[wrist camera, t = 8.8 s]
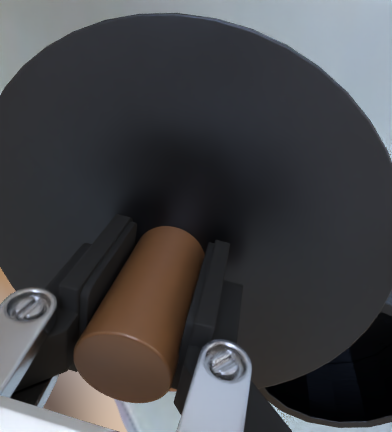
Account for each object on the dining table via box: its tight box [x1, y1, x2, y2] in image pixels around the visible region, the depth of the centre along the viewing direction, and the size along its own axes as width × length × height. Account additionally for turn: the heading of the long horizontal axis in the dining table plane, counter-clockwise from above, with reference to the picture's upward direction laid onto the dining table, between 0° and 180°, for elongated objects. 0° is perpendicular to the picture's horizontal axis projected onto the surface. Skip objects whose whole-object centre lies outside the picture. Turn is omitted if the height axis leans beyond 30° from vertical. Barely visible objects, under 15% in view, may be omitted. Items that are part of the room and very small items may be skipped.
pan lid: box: [0, 13, 392, 403], centre depth 11 cm, size 16×16×6 cm
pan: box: [259, 291, 392, 428], centre depth 30 cm, size 15×15×6 cm
